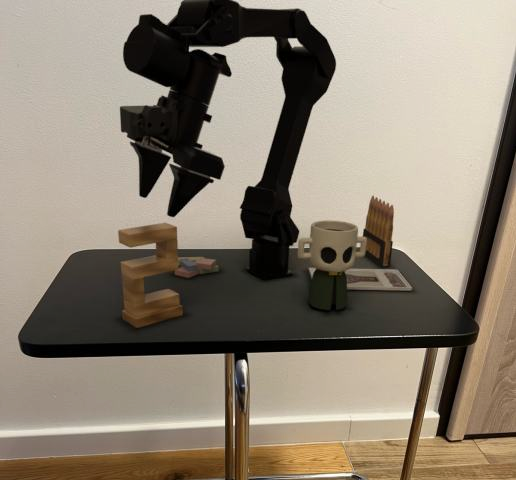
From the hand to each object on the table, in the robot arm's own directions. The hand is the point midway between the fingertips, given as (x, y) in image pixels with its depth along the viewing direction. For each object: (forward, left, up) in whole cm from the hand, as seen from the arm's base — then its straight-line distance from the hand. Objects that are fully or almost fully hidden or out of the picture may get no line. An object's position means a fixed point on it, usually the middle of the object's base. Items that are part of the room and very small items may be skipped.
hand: (156, 206), depth 80 cm
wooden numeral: (+3, +6, -15) cm, 16 cm away
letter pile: (-11, -12, -15) cm, 22 cm away
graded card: (-36, +6, -15) cm, 39 cm away
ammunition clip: (-47, -4, -15) cm, 50 cm away
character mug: (-23, +13, -15) cm, 31 cm away
